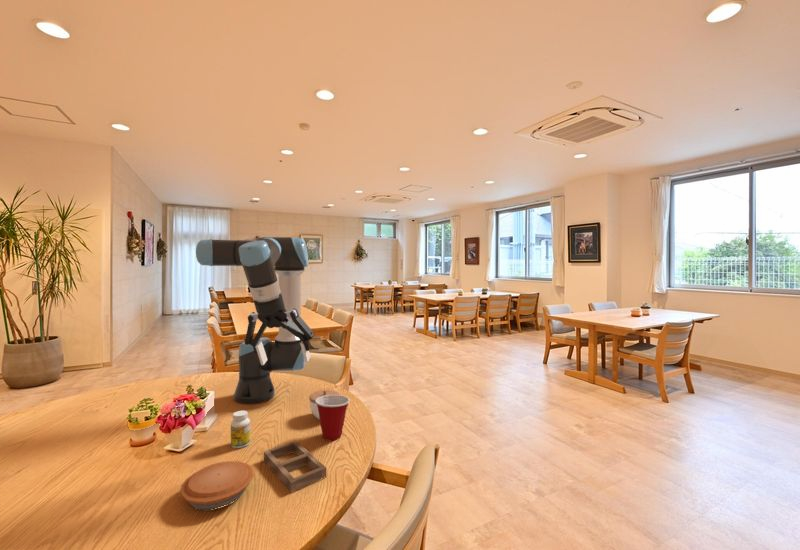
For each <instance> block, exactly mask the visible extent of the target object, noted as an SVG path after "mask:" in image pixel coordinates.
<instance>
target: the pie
mask: <svg viewBox="0 0 800 550" xmlns="http://www.w3.org/2000/svg"><path fill="white" fill-rule="evenodd" d="M254 477H255V471H254V469H253V467H252V465H250V464H248V463H246V462H242V461H239V460H238V461H233V460H232V461H220V462H216V463H213V464H209V465H207V466H205V467H203V468H201V469H199V470H198V471H196V472H194V473H192V474H191V475H190V476H189V477H187V478H186V479H185V480H184V482H183V483H182V484H181V487H180V490H179V492H180V494H181V496H182V497H183V499H184V500H185V501H186V502H188V503H189V504H190V505H191V506H192V507H193V508H194V507H195V508H194V509H196V508H197V509H196V510H198V509H200V510H199V511H202V510H210V511H212V510H211V509H215V508H218V507H221V506H224V505H227V504H229V503H231V502H233V501H235V500H236V499H237V500H239V499H238V498H240V497H242V495H243V494H244V492H245V491H246V489H247V487H248V486H249V485H250V483H251V482H252V480H253V479H254ZM237 500H236V501H237ZM236 501H235V502H236ZM233 503H234V502H233Z"/></svg>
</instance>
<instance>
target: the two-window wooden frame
mask: <svg viewBox="0 0 800 550" xmlns="http://www.w3.org/2000/svg"><path fill="white" fill-rule="evenodd" d="M292 453H295V454H296V455H297V456H295V457H292V458H290V459H286V460H285V461H279V460H278V457H279V458H281V457H285V456H287V455H289V454H292ZM263 461H264V462H265V463H266V465H267V464H268V465H269V466H268V465H267V466H268V467H269V468H270V470H271V471H272V470H273V471H274V472H273V471H272V472H273V473H274V474H275V476H276V477H277V476H278V477H279V478H280V479H279V478H278V477H277V478H278V479H279V480H280V482H281V483H282V484H283V483H284V484H283V485H284V486H285V487H286V488H287V490H288V489H289V490H290V491H289V492H290V493H291V492H292V493H294V492H296V491H299V490H300V489H303V488H305V486H306V487H308V486H310V485H312V484H311V483H313V482H315V481H317V482H319V481H321V480H320V479H321V478H324V477H326V478H327V467H326V466H325V465H324V464H323V463H322V462H320V461H319V459H317V458H316V456H314V455H313V454H312V453H311V452H310V451H308V449H306V448H305V447H304V446H303V444H301V443H300V442H299V441H297V440H294V441H291V442H288V443H284V444H282V445H279V446H276V447H273V448H270V449H267V450H265V451H263ZM306 466H308V467H309V469H311V470H310V471H309V472H306V473H303V474H300V475H299V476H296V477H293V476H292V474H291V472H292V471H296V470H298V469H301V468H304V467H306ZM290 471H291V472H290ZM324 479H325V478H324ZM318 480H319V481H318ZM315 483H316V482H315ZM309 484H310V485H309ZM313 484H314V483H313ZM307 485H308V486H307Z"/></svg>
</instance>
